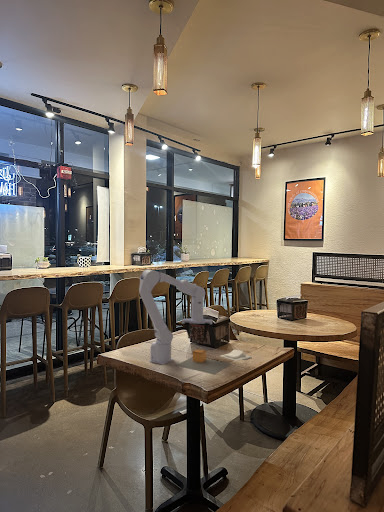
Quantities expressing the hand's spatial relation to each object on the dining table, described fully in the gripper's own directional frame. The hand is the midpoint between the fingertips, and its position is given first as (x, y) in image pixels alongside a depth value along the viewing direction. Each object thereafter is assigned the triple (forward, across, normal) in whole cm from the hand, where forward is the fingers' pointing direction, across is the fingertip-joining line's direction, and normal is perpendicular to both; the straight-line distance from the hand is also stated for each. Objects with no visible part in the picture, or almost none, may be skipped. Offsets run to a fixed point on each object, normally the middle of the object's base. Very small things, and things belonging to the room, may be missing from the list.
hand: (197, 338), depth 169 cm
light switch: (+10, +19, +2) cm, 21 cm away
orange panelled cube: (+8, +2, -8) cm, 11 cm away
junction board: (+9, +4, -13) cm, 17 cm away
